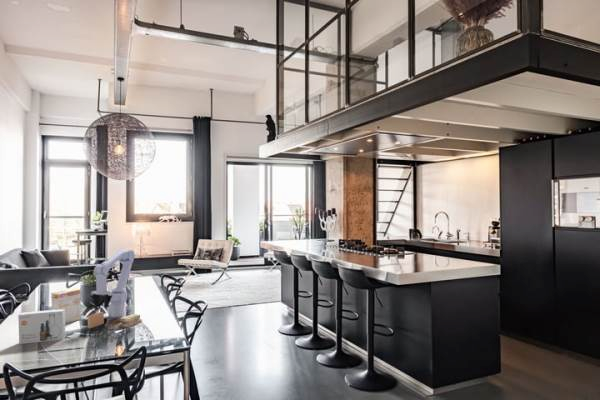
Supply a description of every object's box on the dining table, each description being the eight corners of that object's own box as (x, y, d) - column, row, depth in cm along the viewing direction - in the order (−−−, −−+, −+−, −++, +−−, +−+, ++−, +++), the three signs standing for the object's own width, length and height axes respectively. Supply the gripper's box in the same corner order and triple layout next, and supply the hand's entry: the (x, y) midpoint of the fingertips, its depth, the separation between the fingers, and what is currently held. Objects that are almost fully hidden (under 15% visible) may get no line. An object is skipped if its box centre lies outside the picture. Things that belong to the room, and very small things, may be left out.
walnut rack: (103, 326, 245) (103, 322, 245) (118, 321, 256) (118, 317, 256) (129, 329, 238) (129, 324, 238) (143, 323, 250) (143, 319, 250)
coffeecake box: (75, 318, 267) (74, 288, 267) (81, 319, 263) (80, 289, 264) (51, 324, 254) (50, 292, 254) (57, 325, 250) (57, 293, 251)
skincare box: (18, 344, 216) (17, 314, 216) (22, 341, 221) (21, 312, 222) (63, 339, 222) (62, 310, 222) (65, 337, 227) (65, 308, 228)
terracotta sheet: (87, 329, 240) (87, 316, 240) (101, 324, 249) (101, 311, 249) (90, 330, 239) (90, 316, 239) (103, 325, 249) (103, 311, 249)
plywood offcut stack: (118, 326, 241) (118, 318, 242) (132, 321, 252) (132, 313, 252) (128, 327, 239) (128, 319, 239) (141, 321, 249) (141, 314, 249)
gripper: (87, 285, 250) (87, 307, 250) (105, 286, 245) (106, 309, 245) (96, 283, 257) (96, 305, 257) (114, 284, 252) (115, 306, 252)
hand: (101, 306), depth 251 cm, fingers open, 7 cm apart
